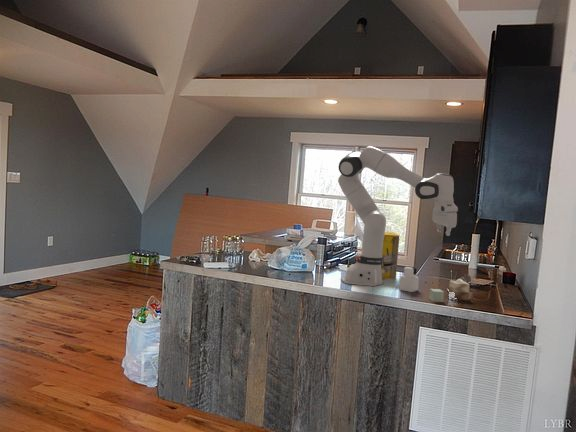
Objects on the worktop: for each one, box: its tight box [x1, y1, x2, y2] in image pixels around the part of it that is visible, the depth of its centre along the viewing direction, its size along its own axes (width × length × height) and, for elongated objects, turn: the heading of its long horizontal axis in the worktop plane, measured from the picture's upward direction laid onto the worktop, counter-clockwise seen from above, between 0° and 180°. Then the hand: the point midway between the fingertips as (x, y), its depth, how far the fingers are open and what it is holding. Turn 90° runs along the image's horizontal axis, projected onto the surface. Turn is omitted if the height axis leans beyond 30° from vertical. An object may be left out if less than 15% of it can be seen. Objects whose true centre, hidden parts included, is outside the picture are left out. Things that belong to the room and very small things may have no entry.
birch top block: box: [448, 280, 470, 293], centre depth 232 cm, size 7×7×4 cm
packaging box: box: [381, 231, 400, 280], centre depth 276 cm, size 16×16×25 cm
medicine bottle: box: [398, 266, 420, 293], centre depth 242 cm, size 7×7×12 cm
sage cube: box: [428, 288, 445, 303], centre depth 224 cm, size 5×5×5 cm
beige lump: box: [448, 287, 470, 301], centre depth 232 cm, size 7×7×4 cm
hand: (443, 233), depth 234 cm, fingers open, 8 cm apart
